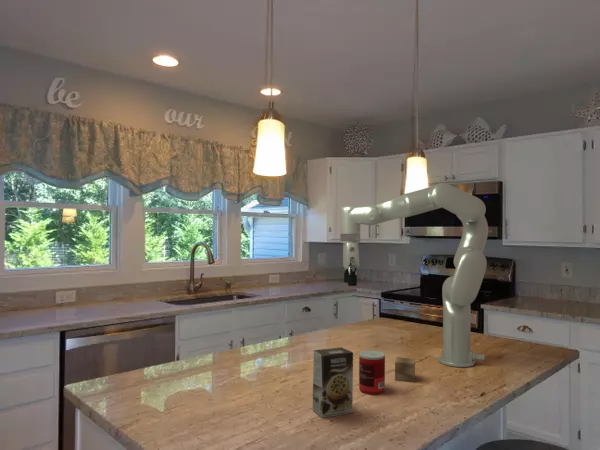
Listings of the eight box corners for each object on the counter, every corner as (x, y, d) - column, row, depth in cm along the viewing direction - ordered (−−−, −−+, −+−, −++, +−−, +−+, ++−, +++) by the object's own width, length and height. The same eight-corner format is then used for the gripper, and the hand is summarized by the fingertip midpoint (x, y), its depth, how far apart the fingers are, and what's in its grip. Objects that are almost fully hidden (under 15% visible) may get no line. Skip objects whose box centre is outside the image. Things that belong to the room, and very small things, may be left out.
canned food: (383, 386, 141) (383, 350, 141) (385, 395, 133) (386, 358, 133) (358, 385, 142) (358, 349, 142) (359, 394, 134) (359, 357, 134)
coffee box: (322, 418, 117) (323, 355, 117) (311, 409, 123) (312, 349, 123) (353, 413, 120) (354, 352, 121) (341, 404, 126) (342, 346, 126)
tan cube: (414, 377, 151) (415, 358, 151) (414, 382, 145) (414, 363, 145) (396, 375, 152) (396, 357, 152) (394, 380, 146) (395, 362, 147)
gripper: (364, 239, 164) (364, 287, 164) (356, 238, 181) (356, 281, 181) (343, 239, 163) (343, 287, 163) (337, 238, 181) (337, 281, 181)
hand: (350, 284), depth 172 cm, fingers open, 9 cm apart
